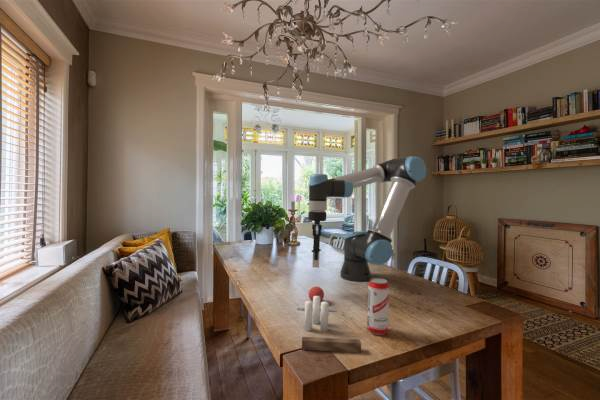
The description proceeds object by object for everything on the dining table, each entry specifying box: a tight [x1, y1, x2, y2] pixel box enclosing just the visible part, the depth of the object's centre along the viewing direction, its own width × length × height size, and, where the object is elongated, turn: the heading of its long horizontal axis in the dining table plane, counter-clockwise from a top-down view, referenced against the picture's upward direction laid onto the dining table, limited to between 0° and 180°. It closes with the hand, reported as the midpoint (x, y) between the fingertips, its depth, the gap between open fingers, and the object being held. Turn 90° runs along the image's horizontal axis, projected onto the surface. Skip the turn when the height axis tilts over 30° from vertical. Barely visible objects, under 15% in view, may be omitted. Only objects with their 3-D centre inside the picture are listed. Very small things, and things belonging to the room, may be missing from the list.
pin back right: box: [320, 301, 330, 333], centre depth 88 cm, size 2×2×8 cm
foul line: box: [296, 307, 337, 312], centre depth 103 cm, size 14×2×1 cm, turn 87°
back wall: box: [301, 336, 362, 353], centre depth 78 cm, size 16×2×2 cm, turn 87°
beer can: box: [366, 277, 390, 336], centre depth 88 cm, size 6×6×16 cm
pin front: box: [312, 296, 321, 325], centre depth 93 cm, size 2×2×8 cm
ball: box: [308, 285, 325, 302], centre depth 110 cm, size 6×6×6 cm
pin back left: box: [304, 300, 313, 332], centre depth 88 cm, size 2×2×8 cm
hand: (315, 266), depth 119 cm, fingers closed
